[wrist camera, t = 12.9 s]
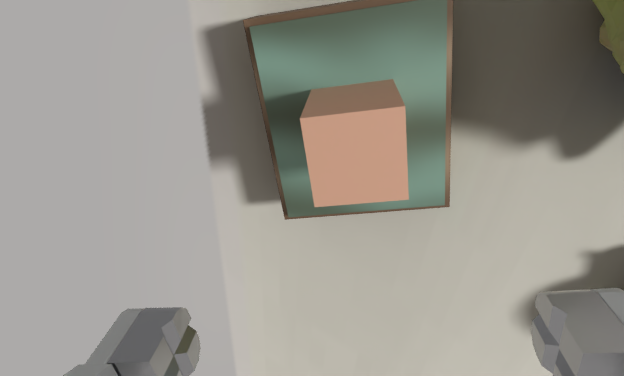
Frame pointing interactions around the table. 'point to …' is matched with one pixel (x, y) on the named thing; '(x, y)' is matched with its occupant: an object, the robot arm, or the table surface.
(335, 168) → the terracotta block
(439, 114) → the green lidded wooden box
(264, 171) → the table surface
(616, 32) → the earth globe model
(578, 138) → the table surface
